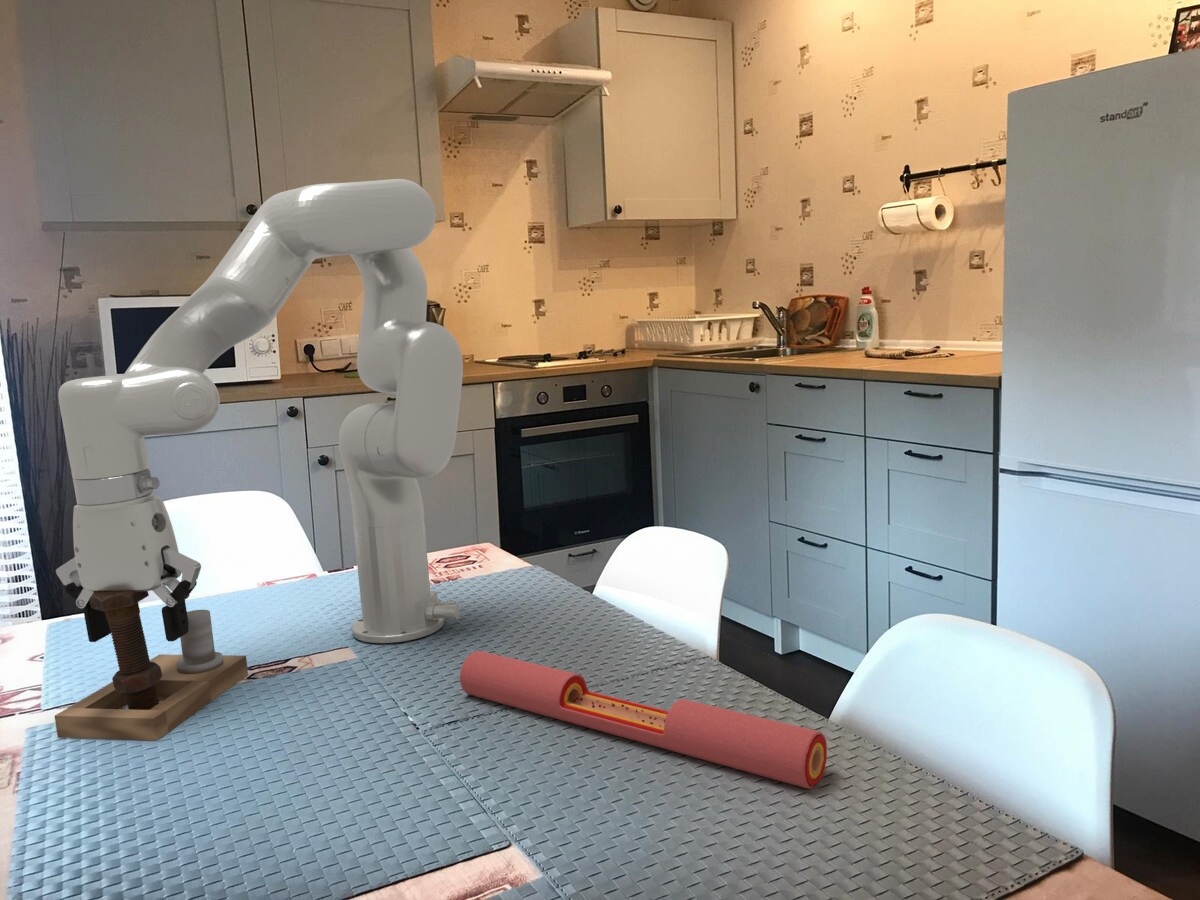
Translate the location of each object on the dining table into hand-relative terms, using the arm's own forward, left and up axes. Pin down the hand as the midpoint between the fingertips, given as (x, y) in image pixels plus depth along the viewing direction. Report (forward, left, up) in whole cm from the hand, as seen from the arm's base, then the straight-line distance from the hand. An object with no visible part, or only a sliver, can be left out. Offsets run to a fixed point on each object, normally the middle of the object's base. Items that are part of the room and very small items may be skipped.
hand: (139, 637), depth 106 cm
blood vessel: (-55, +1, -10) cm, 56 cm away
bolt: (0, +1, -9) cm, 9 cm away
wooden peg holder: (0, -2, -9) cm, 9 cm away
